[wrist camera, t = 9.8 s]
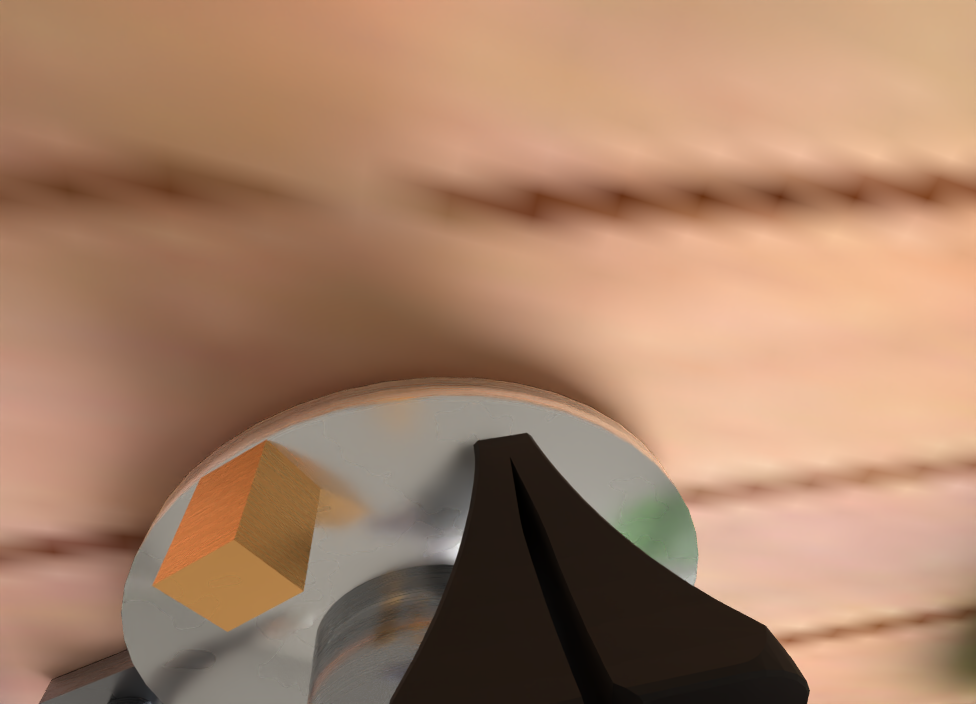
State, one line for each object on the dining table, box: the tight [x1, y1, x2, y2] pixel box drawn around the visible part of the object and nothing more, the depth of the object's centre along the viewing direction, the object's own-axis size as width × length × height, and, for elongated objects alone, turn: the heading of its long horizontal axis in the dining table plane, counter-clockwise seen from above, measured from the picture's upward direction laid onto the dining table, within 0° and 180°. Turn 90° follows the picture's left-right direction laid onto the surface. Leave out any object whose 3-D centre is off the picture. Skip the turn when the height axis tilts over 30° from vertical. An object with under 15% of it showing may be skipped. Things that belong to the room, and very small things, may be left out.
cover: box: [307, 564, 454, 704], centre depth 16 cm, size 7×7×3 cm
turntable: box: [121, 377, 698, 704], centre depth 16 cm, size 18×18×4 cm
